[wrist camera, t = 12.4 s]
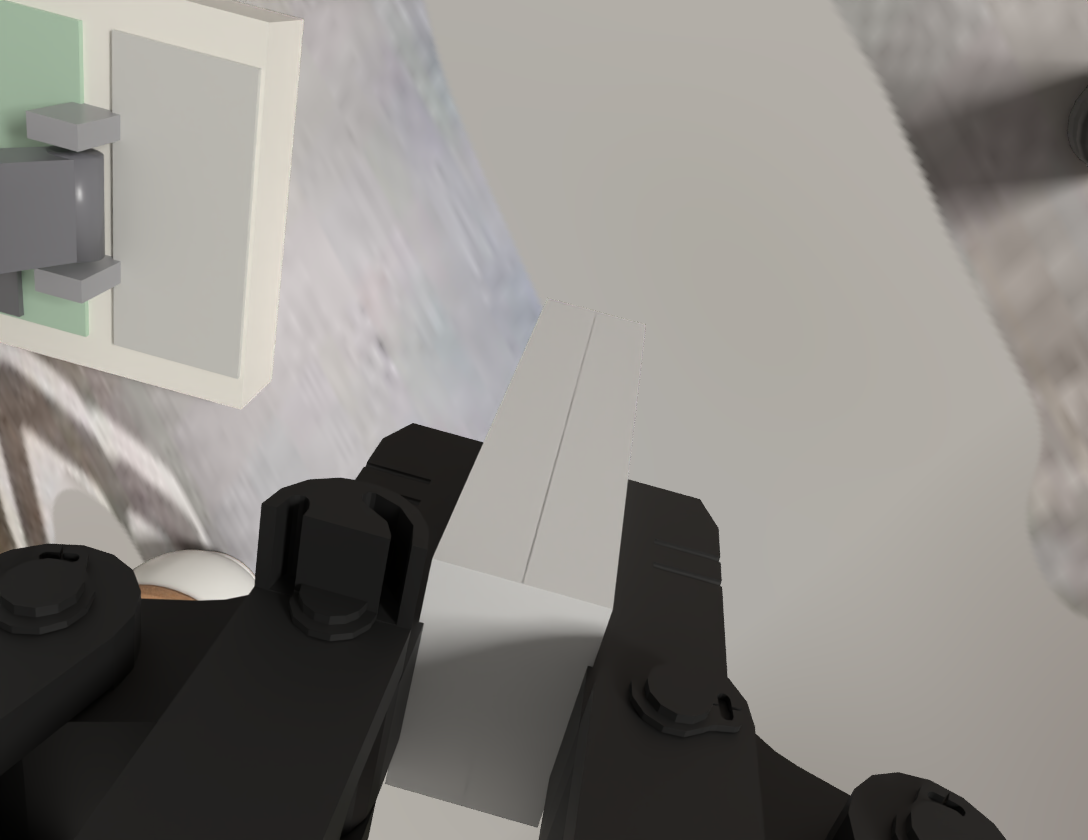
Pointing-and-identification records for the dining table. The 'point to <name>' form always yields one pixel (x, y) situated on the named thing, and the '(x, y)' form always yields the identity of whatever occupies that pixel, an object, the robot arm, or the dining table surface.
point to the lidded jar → (194, 576)
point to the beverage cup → (1079, 127)
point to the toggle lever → (50, 207)
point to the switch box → (159, 184)
